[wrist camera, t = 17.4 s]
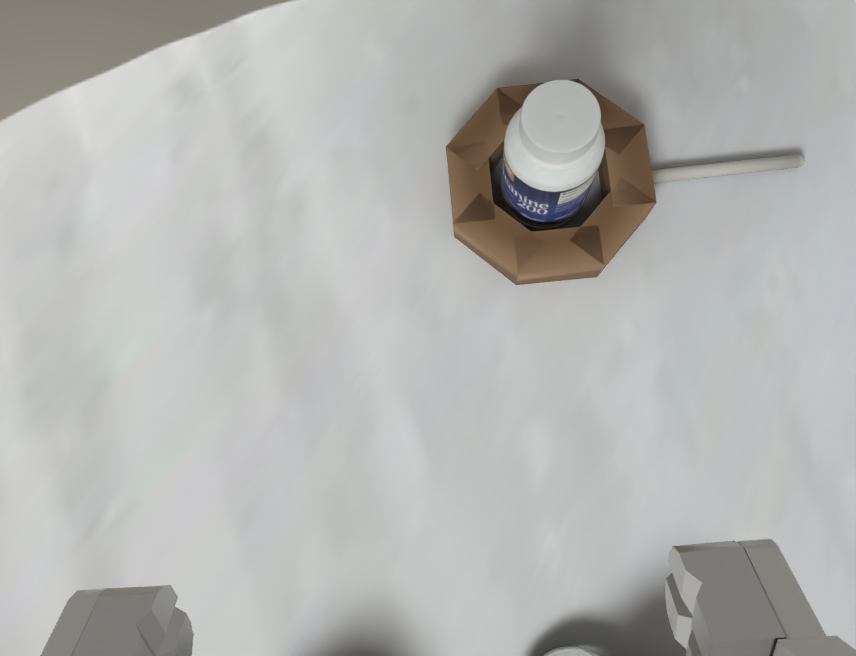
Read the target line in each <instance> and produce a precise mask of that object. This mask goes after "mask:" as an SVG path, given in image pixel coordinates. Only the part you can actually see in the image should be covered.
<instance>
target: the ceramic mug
mask: <svg viewBox="0 0 856 656" xmlns="http://www.w3.org/2000/svg"><path fill="white" fill-rule="evenodd" d="M543 656H599V655H597V654H596V653H594V652H592V651H589V650H587V649H584V648H581V647H575V646H566V647H560V648H556V649H553V650H551V651H549V652H548V653H545V654H544V655H543Z"/></svg>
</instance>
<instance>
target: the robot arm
mask: <svg viewBox="0 0 856 656" xmlns="http://www.w3.org/2000/svg"><path fill="white" fill-rule="evenodd" d="M668 561H669V564H670V567H671V570H672V574H671V575H669V576H668V577H667V578H666V584H665V599H666V609H667V614H668V618H669V622H670V626H671V629H672V632H673V635H674V638H675V640H676V641H678V642H679V643H680V644H681V645H682V646H683V647H684V648H685V649H687V650H686V656H856V650H855V649H854V648H852V647H851V646H850V645H848V644H847V643H846V642H844V641H843V640H842V639H840V638H839V637H838V636H826V634H825V633H824V631H823V629H822V627H821V625H820V623H819V621H818V619H817V618H816V616H815V614H814V612H813V610H812V608H811V606H810V605H809V603H808V601H807V599H806V597H805V595H804V593H803V591H802V590H801V588H800V586H799V584H798V582H797V580H796V578H795V577H794V575H793V573H792V571H791V569H790V567H789V565H788V563H787V562H786V560H785V558H784V556H783V554H782V552H781V550H780V549H779V547H778V545H777V544H776V543H775V542H774V541H773V540H772V539H759V540H749V541H739V542H736V541H725V542H714V543H703V544H692V545H681V546H673V547H672V548H671V550H670V553H669V560H668ZM177 598H178V596H177V595H176V593H175V592H174V590H173V588H172V587H171V585H162V586H145V587H127V588H106V589H92V590H78V591H77V592H76V593H75V594H74V595H73V596H72V597H71V598H70V599H69V600H68V601H67V603H66V605H65V607H64V609H63V611H62V613H61V615H60V617H59V619H58V621H57V623H56V625H55V627H54V629H53V631H52V633H51V635H50V637H49V639H48V641H47V643H46V645H45V647H44V649H43V651H42V654H41V656H191V655H192V646H193V631H192V626H191V622H190V620H189V618H188V616H187V614H186V613H185V612H183V611H182V610H180V609H178V608H176V607H175V604H176V601H177Z"/></svg>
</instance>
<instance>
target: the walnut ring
mask: <svg viewBox="0 0 856 656" xmlns="http://www.w3.org/2000/svg"><path fill="white" fill-rule="evenodd" d="M570 81H574V82H577V83H579V84H581V85H583V86H584V87H586V88H587V89H589V90H590V91H591V92H592V94H593V95H594V96H595V98H596V99H597V101H598V103H599V106H600V111H601V124H602V127H603V130H604V135H605V149H604V154H603V158H602V161H601V163H600V165H599V168H598V170H599V178H600V185H601V192H602V199H603V201H602V202H601V203H600V204H599V205H598V207H597V208H596V209H595V210H594V211H593V213H592V214H591V215H590V216H589V217H588V219H587V220H586V221H585V222H584V223H583V225H582V226H581V227H573V228H563V229H553V230H544V231H534V232H531V231H530V230H528V229H527V228H526V227H524V226H523V225H522V224H520V223H519V222H518V221H516V220H515V219H514V218H513V217H511V216H510V215H509V214H507V213H506V212H505V211H503V210H502V209H501V208H499V207H498V206H497V205H495V204H494V203H493V196H492V186H491V177H490V172H491V171H492V170H493V168H494V167H495V166H496V165H497V164H498V163H499V162H500V160H501V159H502V158H503V152H504V140H505V134H506V130H507V128H508V125H509V123H510V121H511V119H512V118H513V116H514V115H515V113H516V112H517V111H518V110H519V109H520V108H521V107H522V106H523V103H524V101H525V99H526V98H527V96H528V95H529V94H530V93H531V92H532V91H533V90H534V89H535V88H536V87H538V86H539V85H541V84H543V83H538V84H529V85H521V86H512V87H504V88H497V89H496V90H495V92H494V93H493V94H492V95H491V96H490V97H489V98H488V100H487V101H486V102H485V103H484V104H483V105H482V106H481V108H480V109H479V110H478V111H477V112H476V113H475V114H474V115H473V117H472V118H471V119H470V120H469V121H468V122H467V123H466V125H465V126H464V127H463V128H462V129H461V130H460V131H459V133H458V134H457V135H456V136H455V137H454V138H453V139H452V141H451V142H450V143H449V144H448V145H447V146H446V153H447V162H448V173H449V183H450V194H451V204H452V215H453V227H454V236H455V238H457V239H458V240H459V241H461V242H462V243H463V244H464V245H466V246H467V247H468V248H470V249H471V250H472V251H473V252H475V253H476V254H477V255H478V256H480V257H481V258H482V259H484V260H485V261H486V262H487V263H489V264H490V265H491V266H493V267H494V268H495V269H496V270H498V271H499V272H500V273H502V274H503V275H504V276H505V277H507V278H508V279H509V280H511V281H512V282H513V283H514V284H516V285H520V284H530V283H540V282H550V281H561V280H571V279H581V278H591V277H597V276H598V275H599V274H600V272H601V271H602V270H603V269H604V268H605V266H606V265H607V264H608V263H609V262H610V260H611V259H612V258H613V257H614V255H615V254H616V253H617V252H618V251H619V249H620V248H621V247H622V246H623V245H624V243H625V242H626V241H627V240H628V239H629V237H630V236H631V235H632V234H633V232H634V231H635V230H636V229H637V228H638V226H639V225H640V224H641V223H642V222H643V220H644V219H645V218H646V217H647V215H648V214H649V212H650V211H651V210H652V208H653V207H654V205H655V204H656V197H655V191H654V185H653V178H652V172H651V166H650V159H649V153H648V147H647V140H646V134H645V128H644V124H642V123H641V122H639V121H638V120H636V119H635V118H634V117H632V116H631V115H629V114H628V113H626V112H625V111H624V110H622V109H621V108H619V107H618V106H616V105H615V104H613V103H612V102H611V101H609V100H608V99H606V98H605V97H603V96H602V95H601V94H599V93H598V92H596V91H595V90H593V89H592V88H591V87H589V86H588V85H586V84H585V83H583V82H582V81H580V80H579V79H573V80H570Z"/></svg>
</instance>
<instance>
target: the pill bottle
mask: <svg viewBox="0 0 856 656" xmlns="http://www.w3.org/2000/svg"><path fill="white" fill-rule="evenodd" d="M604 149H605V135H604V130H603V127H602V124H601V111H600V106H599V103H598V101H597V99H596V98H595V96H594V95H593V94H592V92H591V91H590V90H589V89H587V88H586V87H584V86H583V85H581V84H579V83H577V82H574V81H570V80H552V81H548V82H546V83H543V84H541V85H539V86H538V87H536V88H535V89H534V90H533V91H532V92H531V93H530V94H529V95H528V96H527V98H526V99H525V101H524V103H523V106H522V107H521V108H520V109H519V110H518V111H517V112H516V113H515V115H514V116H513V118H512V119H511V121H510V123H509V125H508V128H507V130H506V134H505V140H504V152H503V164H502V179H501V194H502V199H503V202H504V204H505V206H506V208H507V210H508V211H509V213H510V214H511V215H512V216H513V217H514V218H515V219H516V220H518V221H519V222H521V223H523V224H525V225H526V226H529V227H532V228H538V229H548V228H554V227H558V226H560V225H563V224H565V223H566V222H568V221H569V220H571V219H572V218H573V217H574V216H575V215H576V214H577V213H578V211H579V210H580V208H581V207H582V205H583V203H584V201H585V199H586V197H587V194H588V191H589V189H590V187H591V184H592V182H593V180H594V177H595V175H596V172H597V170H598V168H599V165H600V163H601V161H602V158H603V154H604Z"/></svg>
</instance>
